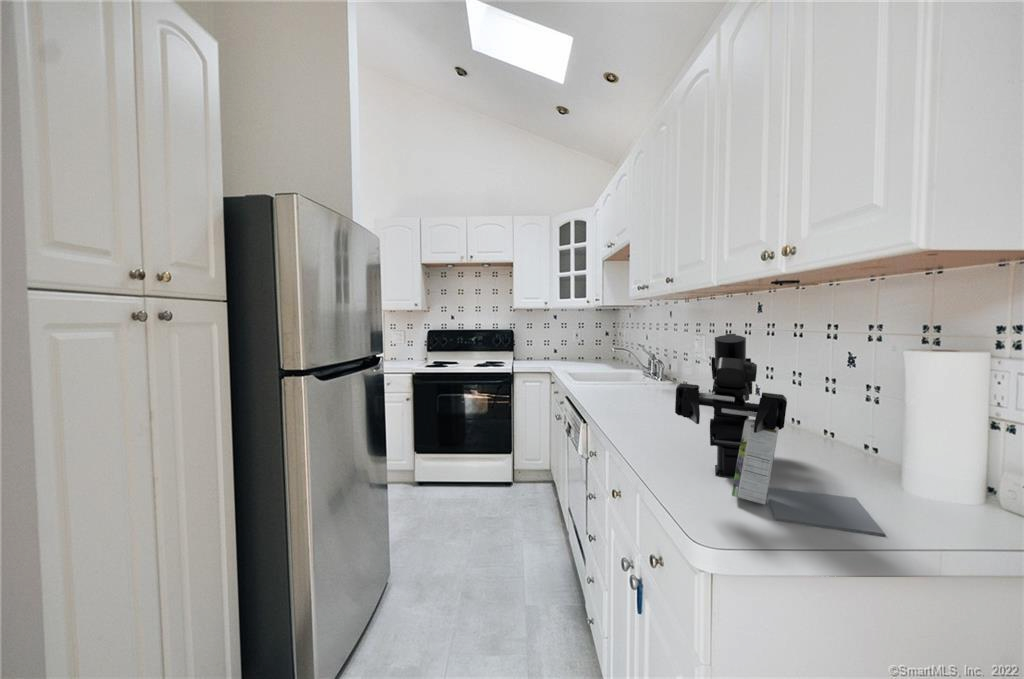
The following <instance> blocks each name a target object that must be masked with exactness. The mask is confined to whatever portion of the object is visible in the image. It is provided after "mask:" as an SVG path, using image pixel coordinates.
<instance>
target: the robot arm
mask: <svg viewBox="0 0 1024 679" xmlns="http://www.w3.org/2000/svg"><path fill="white" fill-rule="evenodd" d="M746 343H747V338H746V336H741V335H738V334H736V333H725V334H723V335H719V336H715V337H714V357H711V359H710V360H711V365H710V366H711V375H712V381H713V384H712V392H713V393H707V392H700V390H699V388H700V387H699V384H690V383H683V382H680V383H679V384H678V385H676V389H675V405H674V407H675V408H674V413H675V414H676V415H677V416H680V417H682V418H686V419H688V420H690V421H692V422H694V423H695V424H696V425H699V424H700V416H701V415H700V414H701V412H700V406H705V407H712V408H713V418H710V419H709V444H710V445H709V446H710V447H711V446H712V447H714V446H715V447H717V449H716V453H717V454H716V464H715V465H714V470H715V471H714V475H715V476H723V477H731V478H735V472H736V466H737V460H738V454H739V449H740V444H741V439H742V434H743V429H744V423H745V421H746V420H747V419H750V417H753V418H755V419H754V420H755V423H754V433H757V432H760V431H763V430H774V429H775V428H776V427H778V428H779V429H778V431H779V430H780V431H781V430H782V429H784V427H785V421H786V414H787V406H788V400H787V397H786V396H785V395H784V394H782V393H781V394H780V393H771V392H762V393H761V397H759V402H758V403H754V402H753V403H752V402H747V401H750V395H753V383H756V380H757V373H758V372H757V371H758V364H757V363H755V362H753V361H752V358H750V357H749V358H748V357H747V354H746V353H747V344H746Z"/></svg>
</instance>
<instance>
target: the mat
mask: <svg viewBox="0 0 1024 679" xmlns="http://www.w3.org/2000/svg"><path fill="white" fill-rule="evenodd" d="M767 500H768V501H769V504H770V509H771V512H772V514H773V517H774V520H775V521H778V522H785V523H790V524H791V523H792V524H797V525H805V526H812V527H818V528H826V529H833V530H838V531H840V530H841V531H845V532H852V533H860V534H865V535H866V534H867V535H868V534H869V535H874V536H880V537H886V532H884V530H883V529H882V528H881V527H880V525H878V523H877V522H876V520H874V518H873V517H872V516H871V514H870V513H869V512H868V511H867V510H866V508H865V507H864V506H863V505H862V504H861V502H860V501H859V500H858V498H856V497H853V496H845V495H835V494H829V493H820V492H813V491H812V492H811V491H805V490H804V491H802V490H795V489H786V488H780V487H779V488H778V487H770V486H769V488H768V494H767Z"/></svg>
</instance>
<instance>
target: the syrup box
mask: <svg viewBox="0 0 1024 679" xmlns="http://www.w3.org/2000/svg"><path fill="white" fill-rule="evenodd" d="M754 423H755V419H752V418H751V419H750V418H749V419H747V420H746V421H745V423H744V429H743V434H742V439H741V444H740V449H739V454H738V460H737V466H736V472H735V477H733V484H732V490H731V496H732V497H736V498H739V499H743V500H746V501H750V502H753V503H754V502H755V503H758V504H762V505H766V504H767V500H768V496H767V494H768V488H769V487H770V481H771V477H772V476H771V475H772V471H773V466H774V459H775V452H776V447H777V442H778V436H779V430H778V429H779V428H778V427H776V428H775V429H774V430H763V431H760V432H757V433H754Z"/></svg>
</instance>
